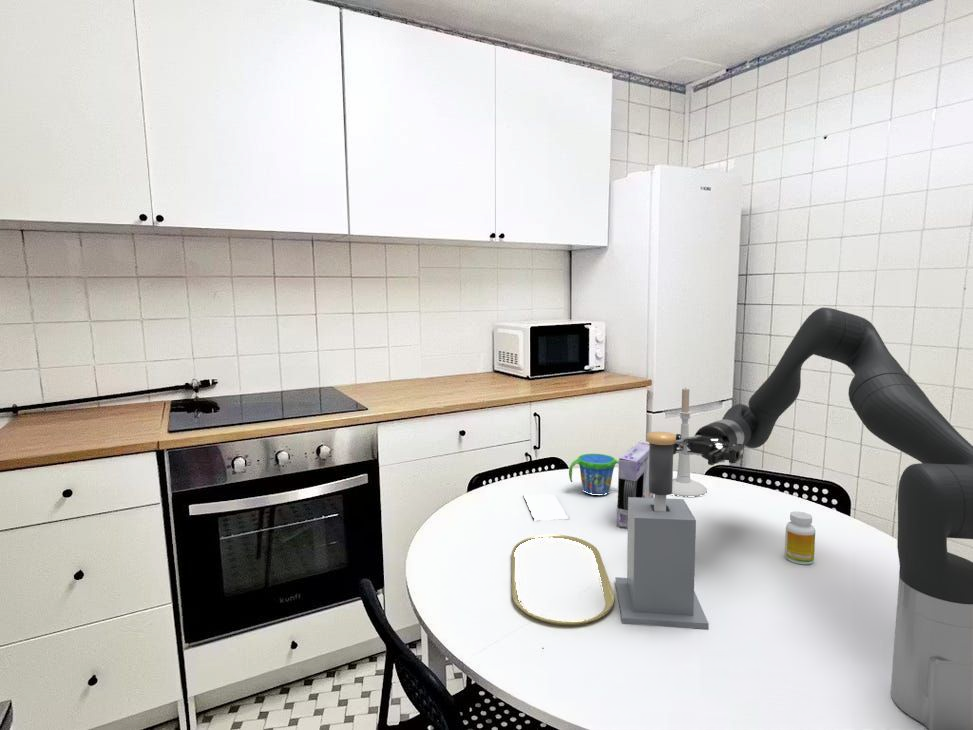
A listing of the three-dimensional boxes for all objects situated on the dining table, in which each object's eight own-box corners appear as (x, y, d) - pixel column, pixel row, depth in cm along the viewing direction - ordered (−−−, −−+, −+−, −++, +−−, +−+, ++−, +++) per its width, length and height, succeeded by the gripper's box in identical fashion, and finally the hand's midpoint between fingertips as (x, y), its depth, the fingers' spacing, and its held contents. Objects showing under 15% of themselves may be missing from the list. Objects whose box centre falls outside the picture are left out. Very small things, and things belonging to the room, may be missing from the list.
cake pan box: (634, 532, 130) (635, 460, 128) (613, 528, 133) (614, 457, 131) (655, 506, 146) (656, 441, 144) (637, 503, 149) (638, 439, 147)
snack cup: (621, 487, 162) (621, 453, 161) (626, 499, 152) (627, 463, 151) (567, 486, 164) (567, 452, 162) (569, 498, 153) (569, 463, 152)
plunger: (675, 590, 96) (678, 438, 93) (646, 588, 97) (649, 437, 94) (669, 576, 101) (673, 431, 98) (643, 575, 102) (645, 431, 99)
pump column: (708, 629, 92) (711, 525, 90) (622, 623, 94) (623, 521, 92) (689, 586, 105) (692, 495, 103) (615, 582, 107) (616, 493, 105)
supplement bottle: (818, 566, 112) (820, 520, 111) (789, 564, 113) (791, 519, 112) (808, 554, 118) (810, 510, 116) (781, 552, 119) (783, 509, 118)
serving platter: (512, 630, 93) (512, 621, 93) (511, 540, 128) (511, 534, 127) (624, 631, 92) (624, 622, 92) (593, 541, 127) (593, 534, 127)
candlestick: (711, 498, 152) (715, 391, 148) (663, 496, 154) (666, 390, 150) (701, 483, 164) (704, 384, 161) (657, 481, 166) (658, 383, 163)
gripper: (687, 417, 121) (652, 430, 109) (756, 426, 111) (726, 442, 99) (686, 450, 122) (652, 467, 110) (754, 462, 112) (725, 482, 100)
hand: (687, 455), depth 105 cm, fingers open, 8 cm apart
